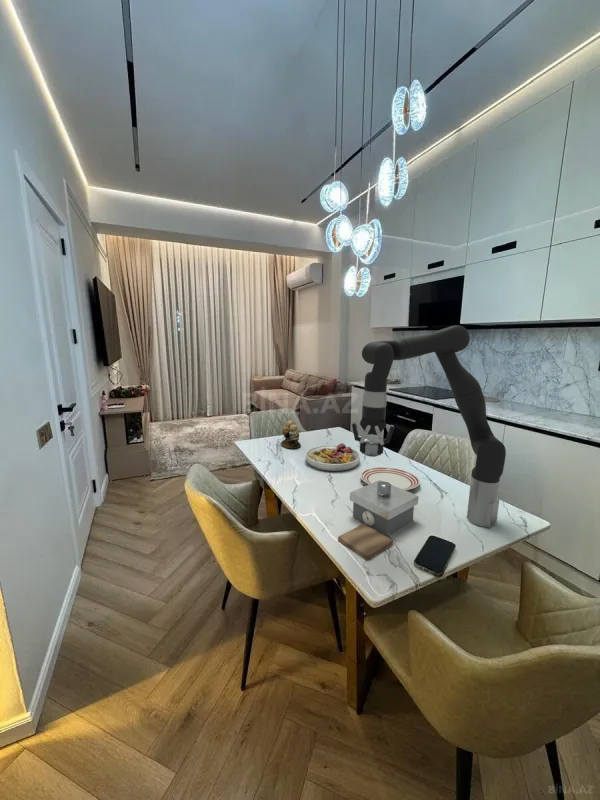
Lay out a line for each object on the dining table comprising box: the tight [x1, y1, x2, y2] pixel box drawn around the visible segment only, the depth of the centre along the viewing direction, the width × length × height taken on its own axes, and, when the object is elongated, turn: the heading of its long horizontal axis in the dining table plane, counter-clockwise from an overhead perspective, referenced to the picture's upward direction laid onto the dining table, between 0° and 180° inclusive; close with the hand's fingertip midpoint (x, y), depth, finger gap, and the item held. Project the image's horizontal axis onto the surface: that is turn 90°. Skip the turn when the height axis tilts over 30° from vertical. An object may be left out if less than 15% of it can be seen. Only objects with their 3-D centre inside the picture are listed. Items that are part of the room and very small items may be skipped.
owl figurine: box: [280, 419, 302, 450], centre depth 210 cm, size 18×12×17 cm, turn 27°
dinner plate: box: [359, 466, 420, 491], centre depth 158 cm, size 28×27×3 cm
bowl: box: [305, 442, 361, 472], centre depth 183 cm, size 30×30×8 cm
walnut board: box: [337, 523, 394, 561], centre depth 112 cm, size 13×13×2 cm
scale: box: [352, 501, 415, 536], centre depth 126 cm, size 16×17×8 cm
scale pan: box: [349, 480, 419, 520], centre depth 126 cm, size 18×18×3 cm
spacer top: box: [363, 439, 380, 458], centre depth 110 cm, size 5×5×4 cm
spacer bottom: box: [377, 481, 391, 497], centre depth 125 cm, size 5×5×4 cm
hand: (371, 453), depth 111 cm, fingers closed on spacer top, 5 cm apart
